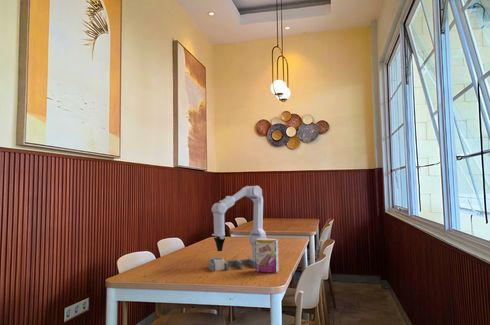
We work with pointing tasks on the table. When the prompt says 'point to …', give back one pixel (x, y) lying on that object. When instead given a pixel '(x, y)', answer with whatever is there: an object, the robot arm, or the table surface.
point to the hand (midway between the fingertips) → (219, 251)
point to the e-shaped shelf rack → (232, 263)
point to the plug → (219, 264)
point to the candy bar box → (266, 255)
